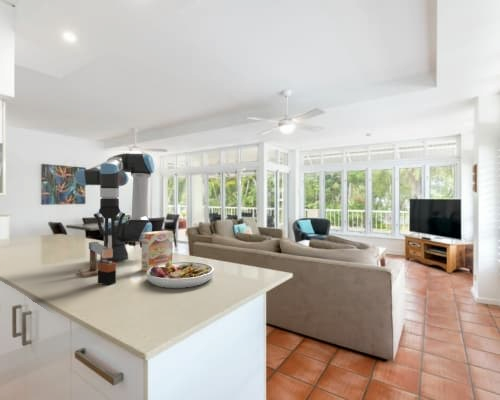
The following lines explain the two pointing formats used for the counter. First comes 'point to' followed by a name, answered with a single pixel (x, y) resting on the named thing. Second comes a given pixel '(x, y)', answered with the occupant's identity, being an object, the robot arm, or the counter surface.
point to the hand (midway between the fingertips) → (109, 250)
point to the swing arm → (101, 250)
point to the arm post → (91, 266)
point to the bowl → (180, 274)
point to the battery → (106, 272)
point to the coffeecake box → (156, 249)
